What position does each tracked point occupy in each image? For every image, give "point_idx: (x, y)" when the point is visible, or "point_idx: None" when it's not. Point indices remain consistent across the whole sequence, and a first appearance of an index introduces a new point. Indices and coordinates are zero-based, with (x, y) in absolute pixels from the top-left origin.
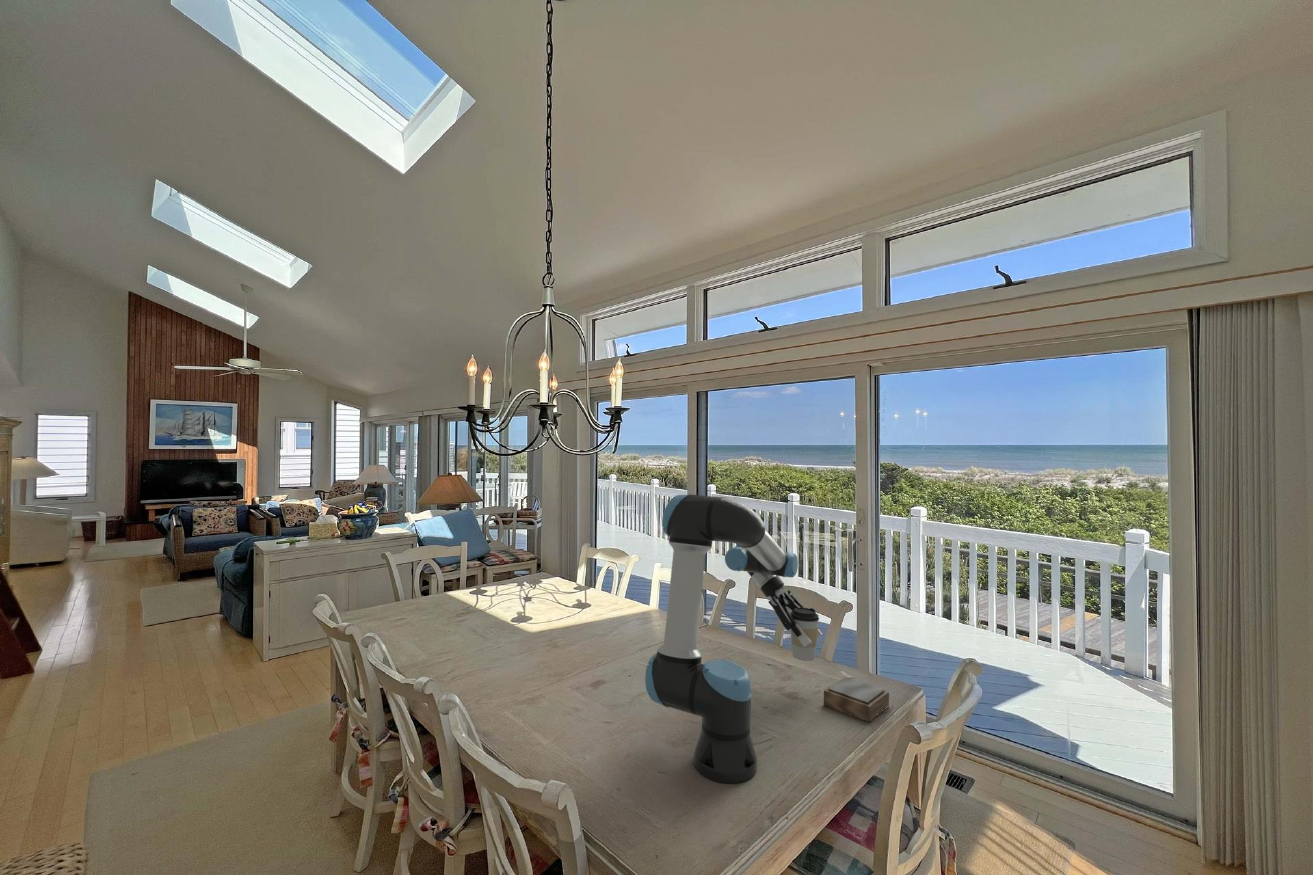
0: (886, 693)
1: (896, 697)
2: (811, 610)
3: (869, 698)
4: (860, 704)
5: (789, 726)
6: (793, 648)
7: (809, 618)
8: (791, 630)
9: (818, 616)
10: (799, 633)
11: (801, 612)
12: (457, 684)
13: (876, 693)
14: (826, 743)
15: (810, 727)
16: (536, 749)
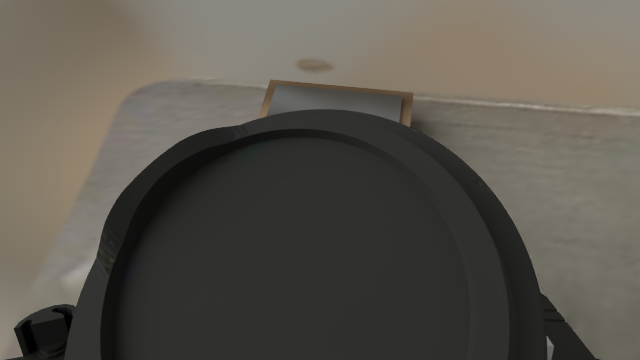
0: (286, 82)
1: (209, 105)
2: (151, 216)
3: (370, 98)
4: (410, 117)
5: (636, 293)
6: None
7: (461, 162)
8: None
9: (275, 114)
10: (542, 298)
11: (391, 320)
12: None
13: (319, 93)
14: (618, 170)
15: (576, 234)
16: None
